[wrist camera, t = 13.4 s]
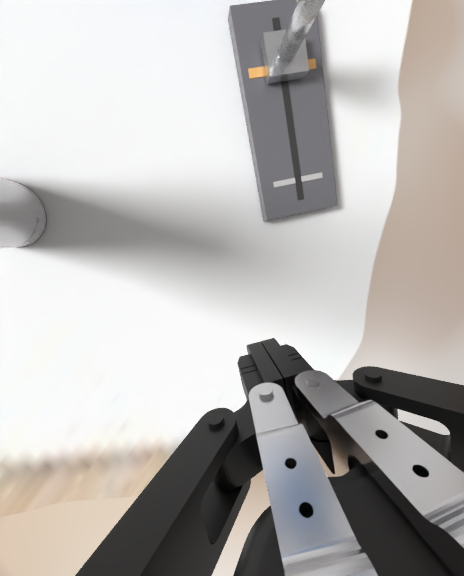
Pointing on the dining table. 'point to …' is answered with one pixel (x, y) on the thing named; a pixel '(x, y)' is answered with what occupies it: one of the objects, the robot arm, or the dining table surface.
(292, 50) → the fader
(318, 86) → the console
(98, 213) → the dining table surface
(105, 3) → the dining table surface
